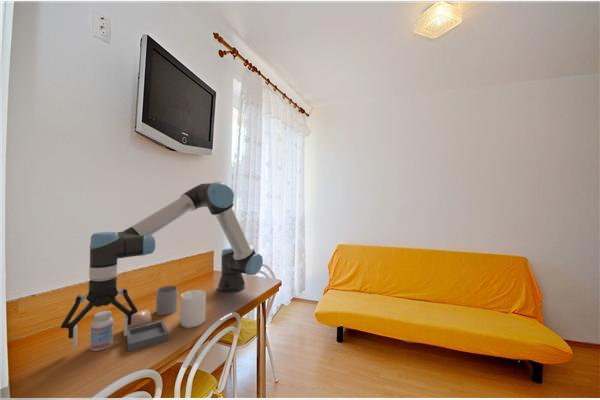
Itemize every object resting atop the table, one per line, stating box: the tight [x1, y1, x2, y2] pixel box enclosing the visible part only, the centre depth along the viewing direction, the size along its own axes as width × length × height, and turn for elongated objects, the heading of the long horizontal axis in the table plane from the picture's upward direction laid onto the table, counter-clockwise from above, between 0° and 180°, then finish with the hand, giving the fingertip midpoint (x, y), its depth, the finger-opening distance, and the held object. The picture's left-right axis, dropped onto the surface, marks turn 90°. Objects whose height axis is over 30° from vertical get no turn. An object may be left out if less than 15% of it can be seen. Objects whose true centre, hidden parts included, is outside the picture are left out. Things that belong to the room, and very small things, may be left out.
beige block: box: [127, 308, 152, 329], centre depth 99 cm, size 7×6×6 cm
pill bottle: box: [89, 310, 114, 352], centre depth 86 cm, size 6×6×11 cm
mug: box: [179, 289, 207, 329], centre depth 105 cm, size 10×12×12 cm
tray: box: [125, 320, 170, 352], centre depth 92 cm, size 12×12×2 cm
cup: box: [155, 285, 179, 316], centre depth 115 cm, size 8×8×10 cm
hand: (101, 340), depth 86 cm, fingers open, 13 cm apart
